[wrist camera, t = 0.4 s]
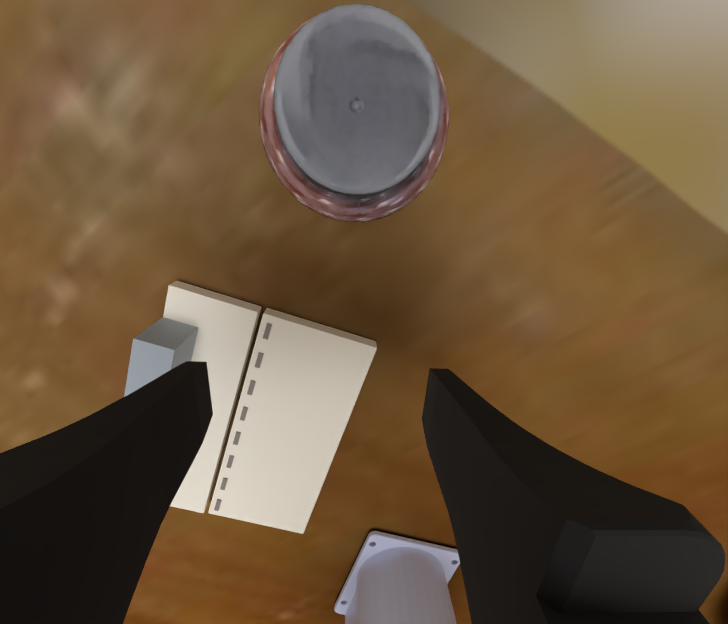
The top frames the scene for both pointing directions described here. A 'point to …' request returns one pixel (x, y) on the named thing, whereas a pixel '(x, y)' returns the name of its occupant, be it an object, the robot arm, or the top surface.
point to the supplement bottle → (354, 113)
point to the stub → (202, 344)
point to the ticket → (289, 420)
